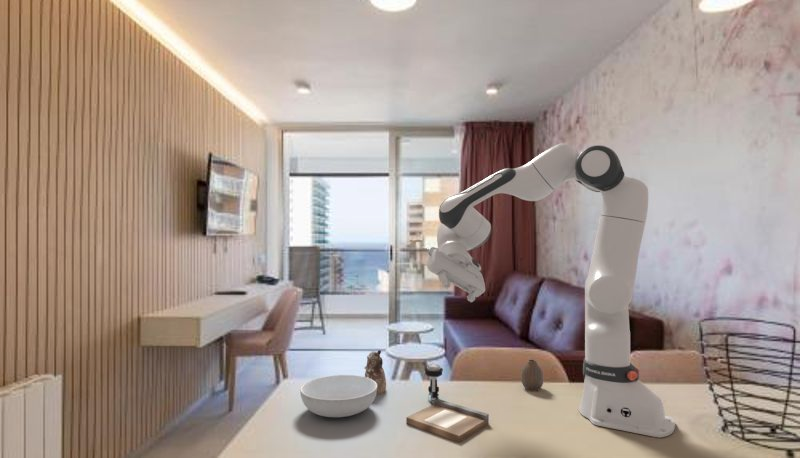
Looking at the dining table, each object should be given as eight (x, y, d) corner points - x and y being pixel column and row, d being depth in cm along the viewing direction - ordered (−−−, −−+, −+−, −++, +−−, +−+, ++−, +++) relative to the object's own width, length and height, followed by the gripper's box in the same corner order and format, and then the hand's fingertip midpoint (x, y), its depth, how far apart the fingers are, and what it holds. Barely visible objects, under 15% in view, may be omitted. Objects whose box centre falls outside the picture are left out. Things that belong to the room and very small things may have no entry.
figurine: (358, 389, 138) (358, 351, 138) (376, 384, 142) (376, 347, 143) (372, 396, 132) (373, 355, 133) (390, 390, 137) (390, 351, 137)
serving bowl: (365, 393, 135) (365, 371, 135) (387, 420, 115) (387, 394, 115) (295, 402, 127) (295, 378, 128) (305, 432, 108) (306, 404, 108)
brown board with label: (488, 423, 113) (488, 414, 113) (459, 442, 103) (459, 431, 103) (437, 407, 123) (437, 398, 124) (406, 423, 113) (406, 413, 113)
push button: (442, 405, 125) (443, 369, 125) (424, 404, 126) (424, 369, 126) (442, 397, 132) (442, 363, 132) (424, 396, 132) (424, 362, 132)
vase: (546, 387, 141) (546, 359, 141) (540, 394, 135) (540, 365, 135) (524, 383, 144) (524, 356, 144) (518, 389, 138) (517, 361, 139)
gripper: (434, 238, 130) (438, 271, 120) (484, 268, 139) (492, 301, 128) (421, 251, 134) (423, 284, 123) (470, 279, 142) (477, 313, 131)
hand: (459, 293), depth 125 cm, fingers open, 8 cm apart
